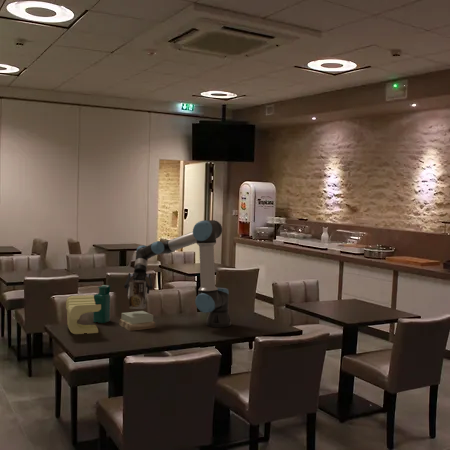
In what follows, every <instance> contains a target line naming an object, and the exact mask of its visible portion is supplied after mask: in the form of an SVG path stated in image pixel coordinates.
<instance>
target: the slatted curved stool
mask: <svg viewBox="0 0 450 450" xmlns="http://www.w3.org/2000/svg"><path fill="white" fill-rule="evenodd" d="M94 295H95V294H92V295H91V294H90V295H87V294H86V295H83V294H82V295H71V296H69V297H67V298H66V301H65V309H66V316H67V317H66V318H67V320H66V323H67V325H66V326H67V328H68V329H69V331H70V333H71V334H74V335H84V333H87V334H98V333H99V328H98V327H97V325H96V324H80V323H78V320H80V318H81V316H82V315H84V314H88V313H93V312H98V311H99V310H101V304H99V305H96V304H95V300H94Z"/></svg>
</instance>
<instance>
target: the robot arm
mask: <svg viewBox="0 0 450 450" xmlns="http://www.w3.org/2000/svg"><path fill="white" fill-rule="evenodd" d="M222 233H223V226H222V224H221V223H220V222H219V221H217V220H215V219H211V220H210V219H209V220H199V221H198V222H196V223H195V225H194V226H193V229H192V231H191V232H188V233H184V234H182V235H180V236H177V237H174V238H172V239H170V240H166V241H163V242H162V241H160V240H156V241H154V242H152V243H151V244H149V245H144V244H143V245H139V246H137V248H136V251H135V261H134V269H133V273H131V272H130V273H128V276H127V278H126V281H125V282H124V285H123V286H124V289H126V293H127V299H128V300H129V295H130V284H129V282H131V281H132V280H134V281H146V293H145V299H146V300H147V298H148V294H150V290H153V282H152V274H151V273H148V274H147V271H148V270H147V269H148V267H147V266H148V260H149V259H151V258H153V257H155V256H161V255H169V254H171V253H173V252H175V251H177V250H180V249H183V248H186V247H188V246H192V245H195V244H197V245H198V250H199V273H200V276H199V277H200V287H199V288H198V290H197V291H198V294H197V295H196V297H195V300H194V301H195V306H196V309H198V310H199V312H201V313H206V314H207V313H208V315H207V318H206V321H205V323H206V324H205V325H206V326H207V327H210V328H211V327H212V328H228V327H230V326H231V325H232V320H231V318H230V314H229V302H230V301H229V300H230V298H229V295H230V294H229V293H230V292H229V288H226V287H217V286H216V275H215V273H216V272H215V247H214V246H215V245H216V244H217V239H218V238H220V237H221V235H222ZM131 278H132V279H131ZM146 278H147V279H148V281H147V279H146ZM148 282H149V283H148Z"/></svg>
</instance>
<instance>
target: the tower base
mask: <svg viewBox="0 0 450 450" xmlns="http://www.w3.org/2000/svg"><path fill="white" fill-rule="evenodd" d="M118 324H119V326H120V327H122V328H124V329H125V330H128V331H129V332H130V331H131V332H132V331H139V330H140V331H141V330H147V329H155V328H156V321H154V320H153V322H146V323H138V324H130V323H128V322H125V321H123V320H121V318H120V319H119V323H118Z"/></svg>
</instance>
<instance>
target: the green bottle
mask: <svg viewBox="0 0 450 450" xmlns="http://www.w3.org/2000/svg"><path fill="white" fill-rule="evenodd" d="M97 289H98V293H96V294H93V295H94V300H95V304H96V305H99V304H101V310H99V311H98V312H92V314H93V315H92V321H93V323H96V322H98V323H99V324H105V323H108V322H110V320H111V295H110V291H111V285H107V284H102V285H100V286H97ZM98 323H97V324H98Z"/></svg>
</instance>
